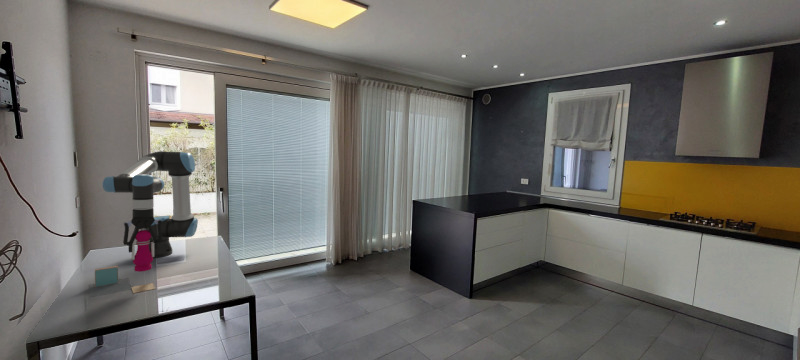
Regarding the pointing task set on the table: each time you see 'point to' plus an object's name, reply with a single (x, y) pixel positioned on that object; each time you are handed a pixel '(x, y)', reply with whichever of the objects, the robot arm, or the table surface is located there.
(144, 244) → the pepper mill
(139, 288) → the cork pad
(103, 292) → the mat
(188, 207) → the robot arm
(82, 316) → the table surface
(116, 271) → the tile
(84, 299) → the table surface
